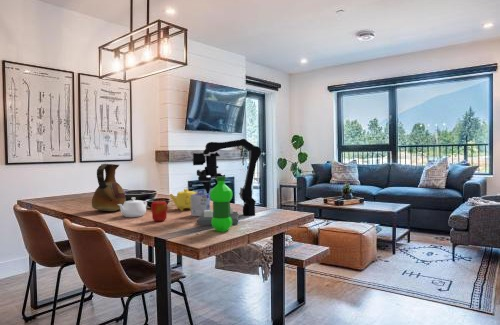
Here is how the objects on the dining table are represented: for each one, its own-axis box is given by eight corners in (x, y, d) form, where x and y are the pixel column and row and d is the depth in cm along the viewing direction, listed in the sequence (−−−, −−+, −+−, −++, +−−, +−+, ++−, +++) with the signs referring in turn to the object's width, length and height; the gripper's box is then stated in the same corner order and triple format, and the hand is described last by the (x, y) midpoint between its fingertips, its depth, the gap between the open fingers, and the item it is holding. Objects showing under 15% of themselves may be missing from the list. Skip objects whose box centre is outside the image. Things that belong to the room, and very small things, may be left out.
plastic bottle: (237, 230, 163) (236, 176, 162) (217, 234, 157) (216, 178, 156) (225, 226, 171) (225, 175, 170) (206, 230, 165) (205, 176, 164)
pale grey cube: (212, 217, 181) (212, 209, 181) (211, 219, 178) (211, 211, 178) (204, 217, 181) (204, 210, 181) (204, 219, 178) (203, 211, 178)
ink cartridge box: (210, 214, 204) (209, 189, 203) (207, 216, 198) (206, 191, 198) (194, 214, 206) (193, 189, 205) (190, 216, 200) (190, 190, 200)
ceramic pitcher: (131, 208, 230) (130, 162, 229) (114, 214, 210) (113, 164, 209) (104, 208, 233) (103, 162, 232) (85, 213, 214) (83, 164, 213)
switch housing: (238, 218, 192) (238, 211, 192) (237, 224, 176) (237, 217, 176) (201, 218, 192) (201, 212, 192) (197, 225, 176) (197, 217, 176)
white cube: (232, 214, 190) (232, 206, 190) (232, 215, 187) (232, 207, 187) (225, 214, 190) (225, 206, 190) (225, 215, 187) (224, 208, 187)
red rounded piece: (151, 223, 183) (150, 200, 182) (151, 220, 191) (150, 198, 190) (168, 221, 185) (167, 199, 185) (167, 218, 193) (166, 197, 193)
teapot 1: (138, 212, 216) (137, 194, 215) (155, 213, 210) (155, 195, 209) (109, 218, 196) (108, 199, 196) (127, 220, 190) (126, 200, 190)
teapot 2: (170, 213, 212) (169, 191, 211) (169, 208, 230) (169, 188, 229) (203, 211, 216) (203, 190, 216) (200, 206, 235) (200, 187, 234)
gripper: (209, 163, 209) (210, 190, 210) (189, 165, 192) (190, 194, 193) (225, 163, 204) (226, 190, 204) (206, 165, 187) (207, 194, 188)
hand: (212, 192), depth 198 cm, fingers open, 9 cm apart
